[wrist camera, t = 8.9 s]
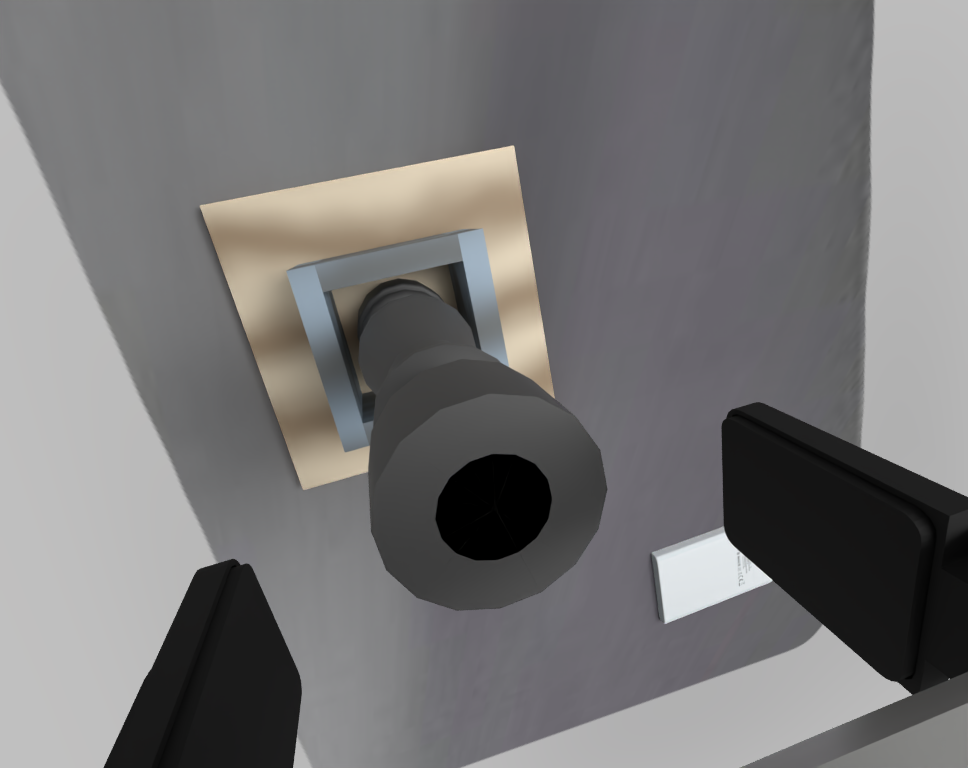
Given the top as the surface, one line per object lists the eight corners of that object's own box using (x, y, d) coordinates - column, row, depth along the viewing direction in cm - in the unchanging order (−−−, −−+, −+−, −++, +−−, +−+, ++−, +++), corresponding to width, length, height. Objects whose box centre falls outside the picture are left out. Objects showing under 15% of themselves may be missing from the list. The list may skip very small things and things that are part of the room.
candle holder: (384, 381, 36) (437, 661, 13) (339, 304, 34) (301, 471, 10) (461, 341, 36) (648, 538, 13) (421, 262, 34) (562, 331, 11)
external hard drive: (647, 548, 48) (759, 508, 50) (656, 614, 51) (762, 574, 53) (657, 558, 47) (772, 517, 49) (665, 626, 49) (774, 584, 51)
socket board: (205, 206, 31) (162, 199, 25) (508, 148, 34) (544, 127, 28) (304, 482, 38) (293, 536, 31) (552, 412, 41) (589, 447, 34)
